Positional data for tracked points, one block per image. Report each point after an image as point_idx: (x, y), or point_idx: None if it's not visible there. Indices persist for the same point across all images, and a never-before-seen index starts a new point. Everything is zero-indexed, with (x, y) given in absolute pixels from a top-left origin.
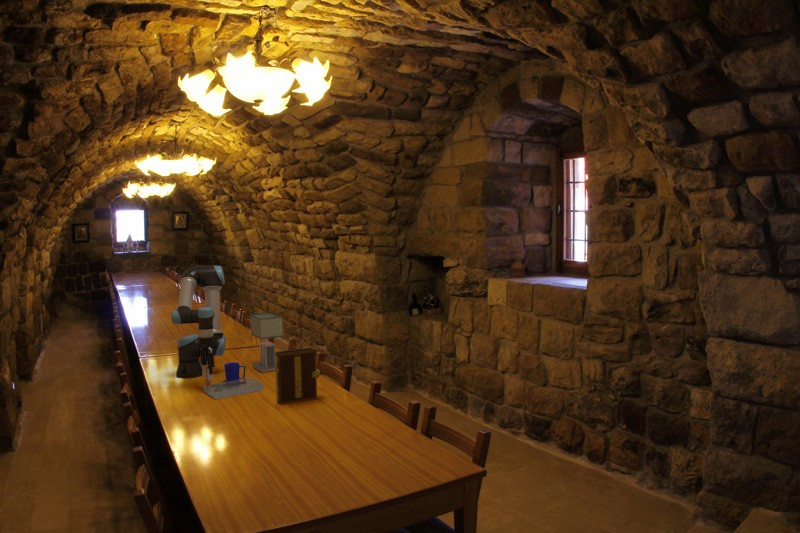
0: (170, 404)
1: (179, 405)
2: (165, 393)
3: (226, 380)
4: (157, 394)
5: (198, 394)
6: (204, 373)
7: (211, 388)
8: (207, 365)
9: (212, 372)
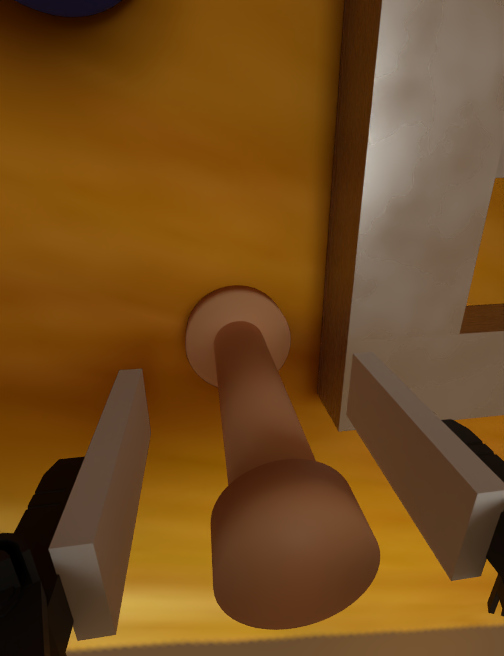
0: (427, 595)
1: (487, 563)
2: (152, 606)
3: (61, 15)
4: (145, 641)
5: (352, 441)
6: (139, 452)
7: (495, 394)
8: (220, 567)
9: (477, 443)
